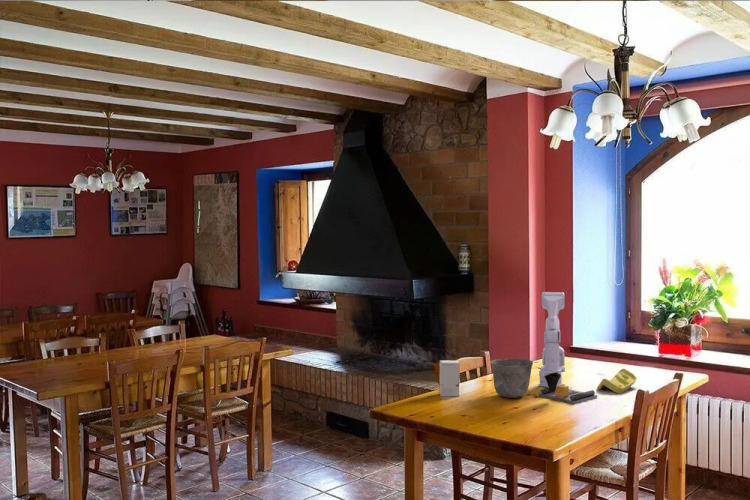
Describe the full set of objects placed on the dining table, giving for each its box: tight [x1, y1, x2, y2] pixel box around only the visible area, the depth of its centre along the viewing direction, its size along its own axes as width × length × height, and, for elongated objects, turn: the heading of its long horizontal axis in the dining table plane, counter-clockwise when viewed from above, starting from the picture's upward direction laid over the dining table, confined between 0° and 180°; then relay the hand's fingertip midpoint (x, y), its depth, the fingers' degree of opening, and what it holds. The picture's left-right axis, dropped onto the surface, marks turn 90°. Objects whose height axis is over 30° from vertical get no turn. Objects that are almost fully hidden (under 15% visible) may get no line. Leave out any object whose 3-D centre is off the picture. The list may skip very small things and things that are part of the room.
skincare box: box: [438, 359, 461, 398], centre depth 301 cm, size 8×6×15 cm
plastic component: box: [596, 368, 638, 394], centre depth 311 cm, size 20×7×10 cm
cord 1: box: [540, 383, 565, 394], centre depth 301 cm, size 2×15×2 cm, turn 128°
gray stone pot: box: [490, 357, 534, 399], centre depth 298 cm, size 18×18×15 cm
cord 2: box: [570, 389, 596, 400], centre depth 290 cm, size 2×15×2 cm, turn 128°
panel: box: [538, 388, 598, 405], centre depth 296 cm, size 18×16×1 cm
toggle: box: [555, 384, 570, 397], centre depth 293 cm, size 4×3×4 cm
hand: (552, 391), depth 289 cm, fingers closed
